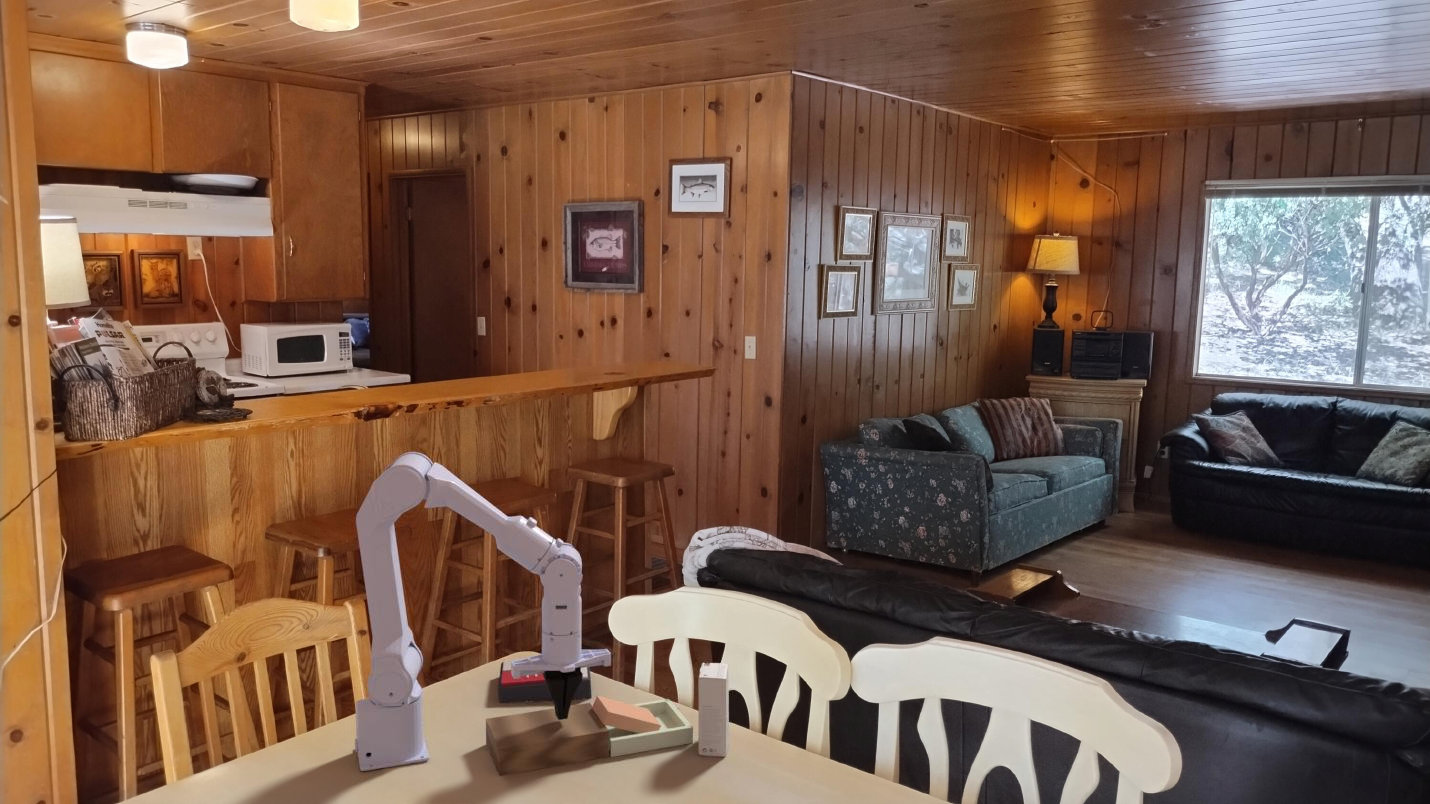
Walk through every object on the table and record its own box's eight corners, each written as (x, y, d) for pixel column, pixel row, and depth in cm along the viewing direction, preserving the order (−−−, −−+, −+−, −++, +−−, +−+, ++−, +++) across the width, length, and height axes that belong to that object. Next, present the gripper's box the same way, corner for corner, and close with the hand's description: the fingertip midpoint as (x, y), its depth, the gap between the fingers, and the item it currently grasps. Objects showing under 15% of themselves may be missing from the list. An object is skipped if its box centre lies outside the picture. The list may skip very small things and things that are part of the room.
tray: (611, 756, 154) (611, 740, 153) (591, 725, 163) (591, 710, 163) (692, 742, 159) (693, 727, 158) (668, 713, 168) (668, 698, 168)
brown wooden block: (499, 775, 148) (498, 748, 147) (486, 744, 157) (485, 718, 156) (608, 756, 154) (608, 730, 153) (589, 727, 163) (589, 702, 162)
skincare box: (727, 757, 154) (728, 679, 152) (696, 755, 155) (698, 677, 153) (729, 737, 160) (731, 662, 159) (700, 736, 161) (701, 661, 159)
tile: (603, 724, 155) (608, 711, 155) (591, 707, 161) (596, 695, 161) (656, 737, 159) (661, 725, 159) (643, 720, 164) (648, 708, 164)
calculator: (500, 657, 181) (588, 649, 183) (502, 681, 182) (589, 673, 184) (497, 683, 170) (590, 675, 173) (499, 708, 171) (591, 699, 173)
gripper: (518, 644, 147) (518, 735, 149) (617, 632, 153) (616, 720, 155) (507, 627, 153) (508, 715, 156) (603, 616, 159) (602, 700, 161)
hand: (561, 716), depth 156 cm, fingers closed
